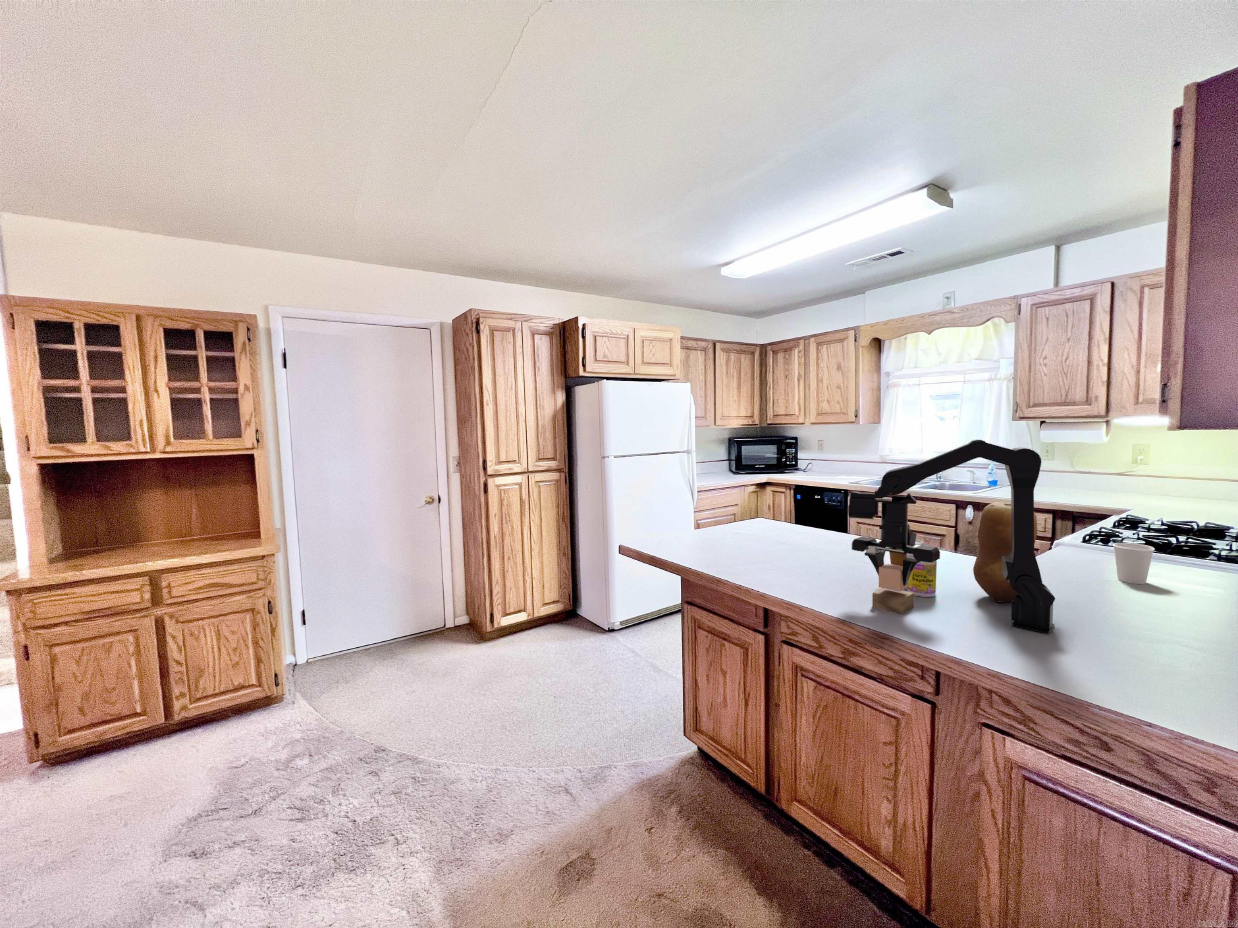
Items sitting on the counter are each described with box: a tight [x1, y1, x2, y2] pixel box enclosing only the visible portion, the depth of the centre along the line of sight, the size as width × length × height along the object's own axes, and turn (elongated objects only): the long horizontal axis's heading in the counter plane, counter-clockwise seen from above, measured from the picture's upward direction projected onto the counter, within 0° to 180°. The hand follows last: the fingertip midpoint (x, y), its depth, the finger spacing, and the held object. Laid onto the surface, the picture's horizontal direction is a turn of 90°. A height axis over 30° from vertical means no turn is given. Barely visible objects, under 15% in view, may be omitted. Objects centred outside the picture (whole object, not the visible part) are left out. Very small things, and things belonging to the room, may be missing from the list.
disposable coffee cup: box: [889, 539, 925, 566], centre depth 148 cm, size 10×10×12 cm
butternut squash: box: [972, 501, 1038, 603], centre depth 131 cm, size 14×13×25 cm
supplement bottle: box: [906, 545, 938, 598], centre depth 137 cm, size 7×7×13 cm
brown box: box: [871, 587, 915, 615], centre depth 128 cm, size 7×7×4 cm
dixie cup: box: [1112, 542, 1156, 585], centre depth 145 cm, size 8×8×10 cm
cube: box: [878, 563, 908, 591], centre depth 128 cm, size 5×5×5 cm
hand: (893, 582), depth 128 cm, fingers closed on cube, 5 cm apart
